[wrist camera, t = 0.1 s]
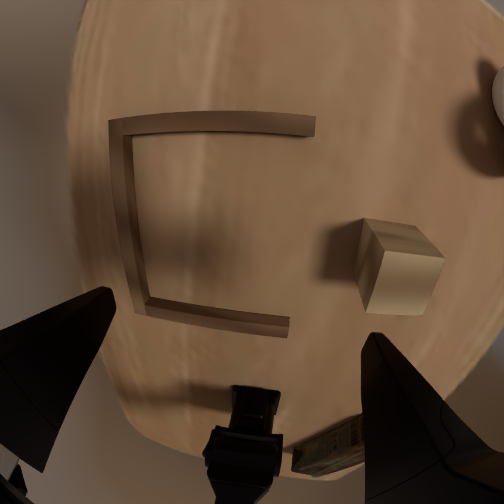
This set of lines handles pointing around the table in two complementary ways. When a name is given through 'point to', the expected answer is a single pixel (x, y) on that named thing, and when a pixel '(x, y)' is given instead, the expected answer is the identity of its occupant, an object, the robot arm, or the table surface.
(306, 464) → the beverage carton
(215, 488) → the robot arm
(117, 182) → the bay
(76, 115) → the table surface
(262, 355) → the table surface
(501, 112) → the white decorative knot
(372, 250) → the oak block
